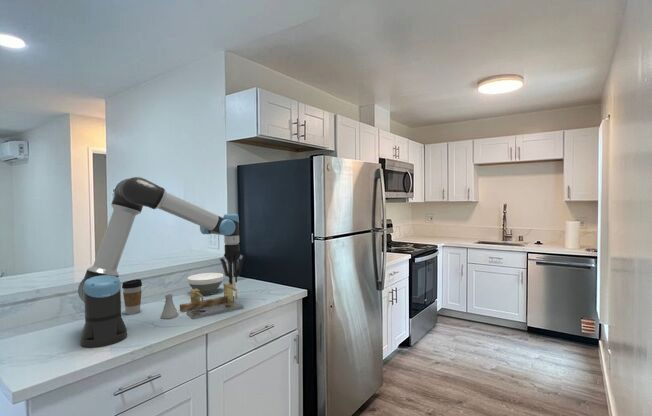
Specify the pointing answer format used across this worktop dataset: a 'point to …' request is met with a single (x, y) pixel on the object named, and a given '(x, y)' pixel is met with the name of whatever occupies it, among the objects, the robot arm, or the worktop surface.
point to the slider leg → (229, 292)
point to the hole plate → (214, 310)
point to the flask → (169, 308)
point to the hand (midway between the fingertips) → (233, 289)
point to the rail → (203, 303)
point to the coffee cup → (132, 296)
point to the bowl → (206, 282)
